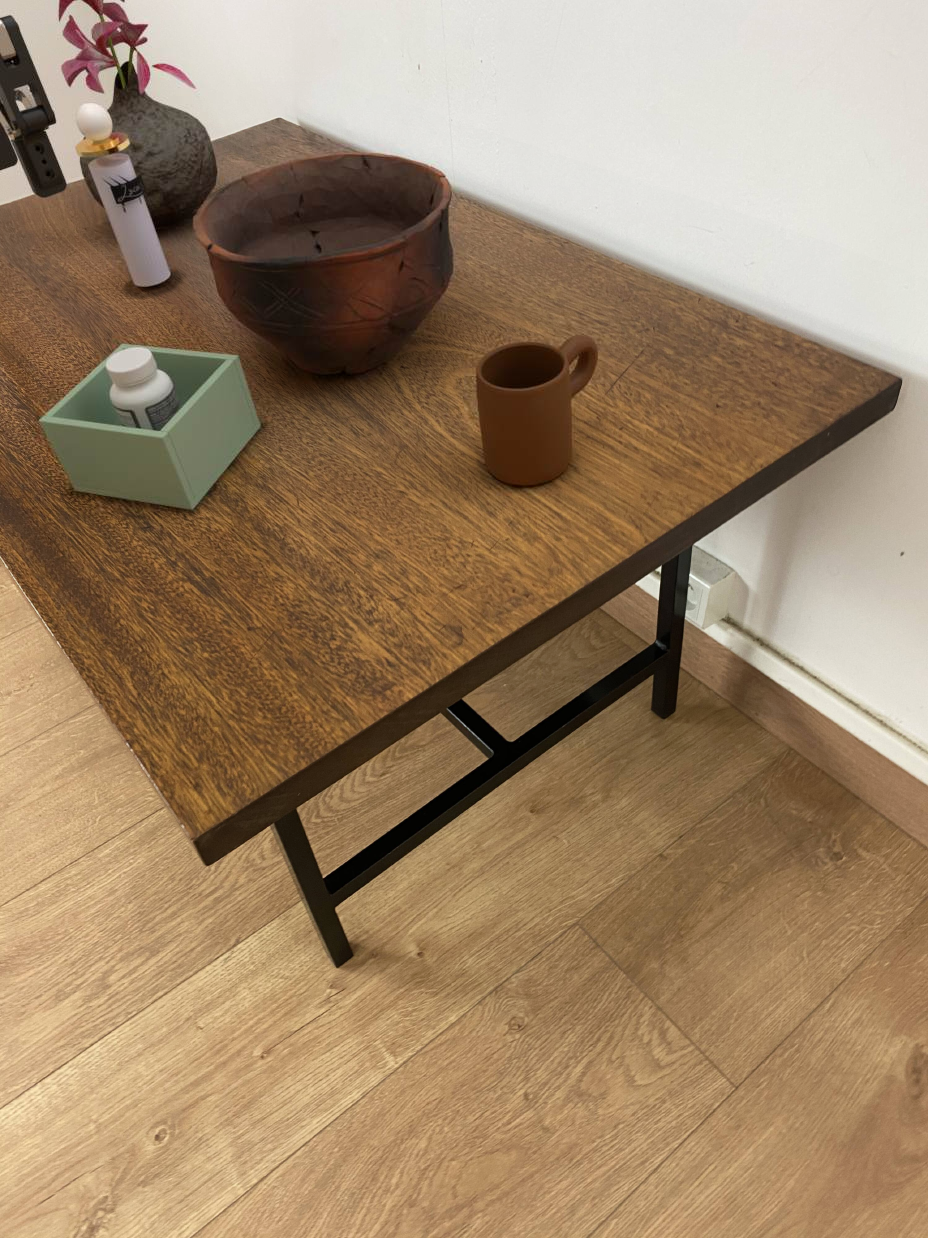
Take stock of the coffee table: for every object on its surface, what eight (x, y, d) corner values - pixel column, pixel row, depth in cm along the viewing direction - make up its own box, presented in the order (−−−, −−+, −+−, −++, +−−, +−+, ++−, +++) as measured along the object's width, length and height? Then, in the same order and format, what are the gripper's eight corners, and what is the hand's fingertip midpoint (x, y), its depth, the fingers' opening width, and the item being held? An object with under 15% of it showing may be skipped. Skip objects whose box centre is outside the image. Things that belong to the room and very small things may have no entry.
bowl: (515, 310, 96) (505, 161, 85) (376, 436, 83) (343, 278, 72) (336, 270, 107) (306, 134, 96) (188, 375, 94) (134, 231, 83)
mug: (564, 403, 83) (562, 308, 76) (626, 436, 79) (629, 338, 72) (466, 463, 79) (454, 368, 72) (526, 501, 74) (519, 403, 67)
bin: (192, 510, 78) (162, 437, 73) (74, 490, 82) (37, 420, 76) (261, 426, 86) (238, 354, 81) (150, 412, 90) (121, 343, 84)
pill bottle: (196, 430, 86) (160, 337, 78) (197, 463, 82) (159, 368, 75) (139, 443, 85) (98, 349, 78) (137, 476, 81) (94, 381, 74)
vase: (84, 243, 121) (-29, -27, 99) (150, 189, 132) (62, -65, 110) (193, 247, 116) (101, -35, 94) (253, 190, 127) (182, -74, 105)
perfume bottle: (120, 288, 110) (49, 109, 95) (157, 268, 113) (93, 91, 98) (150, 298, 107) (81, 115, 93) (187, 277, 110) (125, 96, 95)
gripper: (-195, -100, 55) (-59, 176, 67) (-124, -90, 47) (17, 222, 59) (-74, -124, 58) (36, 144, 70) (11, -118, 50) (120, 183, 62)
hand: (27, 179), depth 64 cm, fingers open, 8 cm apart
